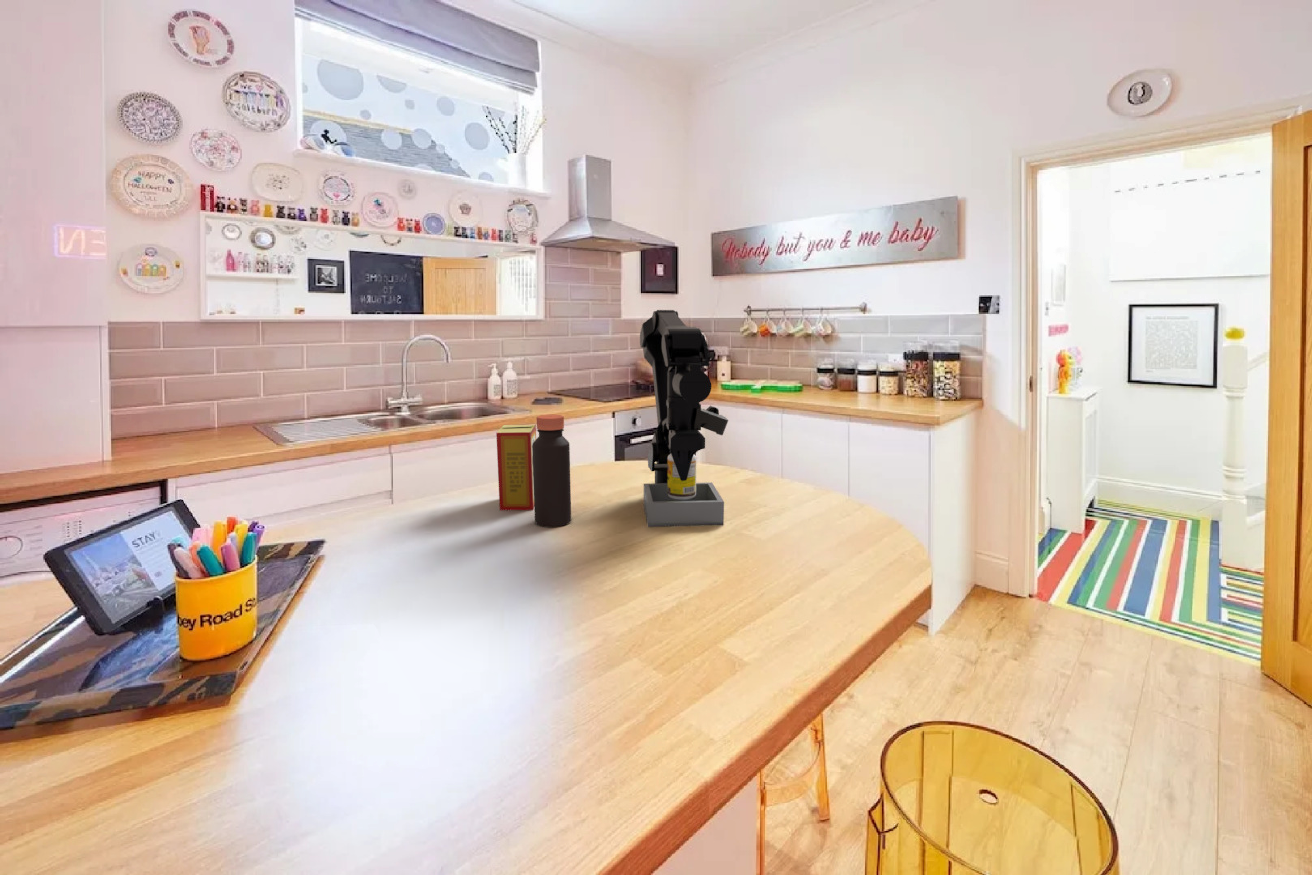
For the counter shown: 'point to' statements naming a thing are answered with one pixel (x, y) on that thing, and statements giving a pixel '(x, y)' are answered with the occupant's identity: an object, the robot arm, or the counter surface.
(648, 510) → the box
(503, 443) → the baking soda box
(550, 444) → the vinegar
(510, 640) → the counter surface
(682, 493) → the supplement bottle
